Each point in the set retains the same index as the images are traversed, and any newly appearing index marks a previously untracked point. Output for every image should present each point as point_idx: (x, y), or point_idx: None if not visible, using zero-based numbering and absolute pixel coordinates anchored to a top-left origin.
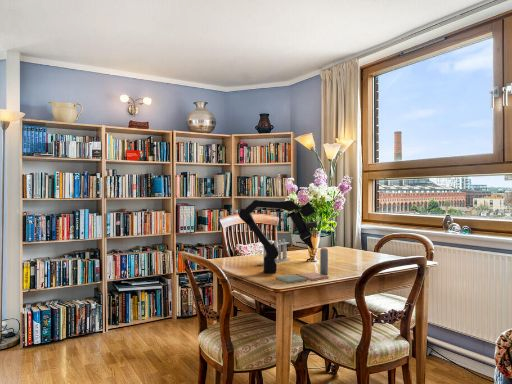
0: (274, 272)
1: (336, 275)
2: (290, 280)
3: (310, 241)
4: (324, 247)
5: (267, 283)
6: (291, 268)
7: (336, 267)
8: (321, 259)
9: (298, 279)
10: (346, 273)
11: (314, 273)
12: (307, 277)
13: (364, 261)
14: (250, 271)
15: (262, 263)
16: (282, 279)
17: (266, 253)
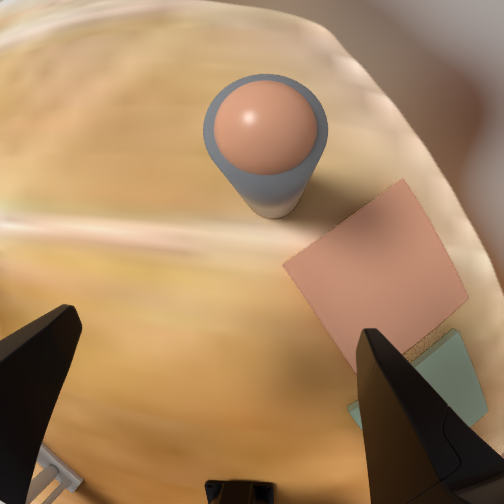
0: (273, 490)
1: None
2: (480, 406)
3: (458, 439)
4: (278, 105)
5: None
6: (117, 389)
7: (80, 104)
8: (296, 195)
9: (472, 372)
10: (248, 52)
11: (328, 268)
12: (438, 324)
13: (13, 21)
14: None
15: (71, 486)
16: None
17: (35, 495)
